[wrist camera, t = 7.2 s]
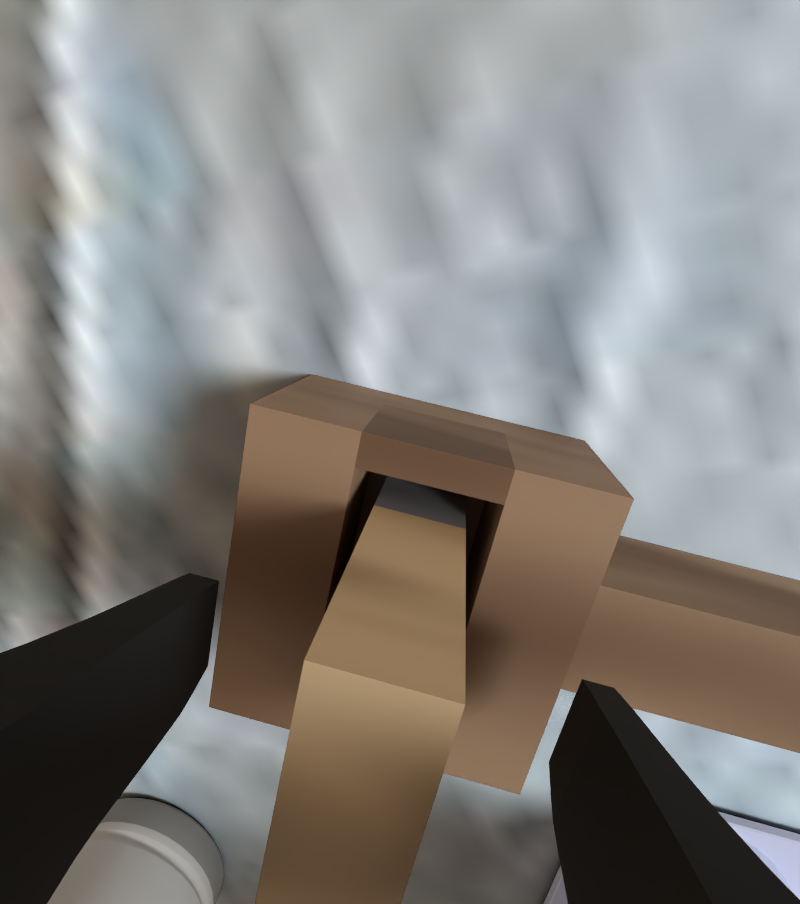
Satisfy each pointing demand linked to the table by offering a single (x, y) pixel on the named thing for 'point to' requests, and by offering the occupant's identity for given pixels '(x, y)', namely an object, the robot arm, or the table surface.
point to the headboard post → (495, 578)
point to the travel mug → (144, 859)
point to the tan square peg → (374, 709)
